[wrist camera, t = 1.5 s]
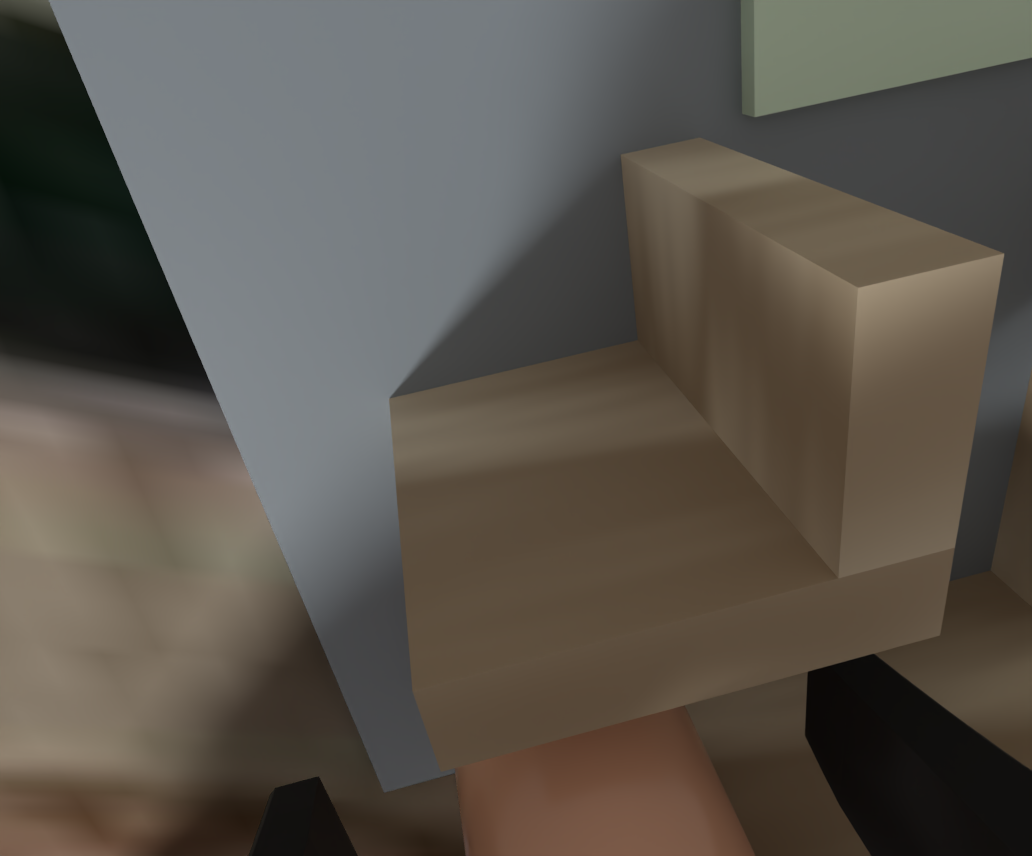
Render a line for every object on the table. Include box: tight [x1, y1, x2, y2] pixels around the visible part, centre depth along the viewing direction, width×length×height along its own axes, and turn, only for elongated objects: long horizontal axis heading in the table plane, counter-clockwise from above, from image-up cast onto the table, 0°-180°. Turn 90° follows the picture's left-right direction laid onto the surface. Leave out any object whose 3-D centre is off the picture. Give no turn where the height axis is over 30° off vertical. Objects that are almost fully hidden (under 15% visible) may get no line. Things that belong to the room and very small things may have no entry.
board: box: [49, 0, 1032, 793], centre depth 13 cm, size 18×16×1 cm
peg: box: [454, 705, 755, 856], centre depth 11 cm, size 4×4×8 cm
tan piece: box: [389, 138, 1032, 856], centre depth 11 cm, size 12×13×6 cm
